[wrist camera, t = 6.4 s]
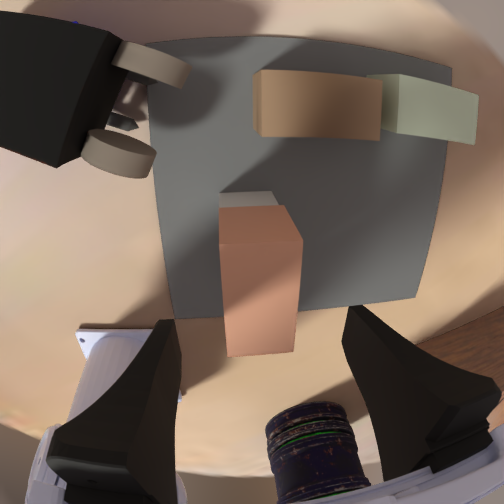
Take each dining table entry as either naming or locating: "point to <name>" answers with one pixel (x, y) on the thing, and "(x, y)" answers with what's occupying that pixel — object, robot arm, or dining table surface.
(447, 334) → the tissue box cover
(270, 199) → the pale grey brick
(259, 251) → the terracotta brick
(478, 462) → the robot arm
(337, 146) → the felt mat
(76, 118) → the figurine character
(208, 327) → the dining table surface
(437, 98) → the sage brick
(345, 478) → the storage jar
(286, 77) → the walnut brick
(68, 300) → the dining table surface
